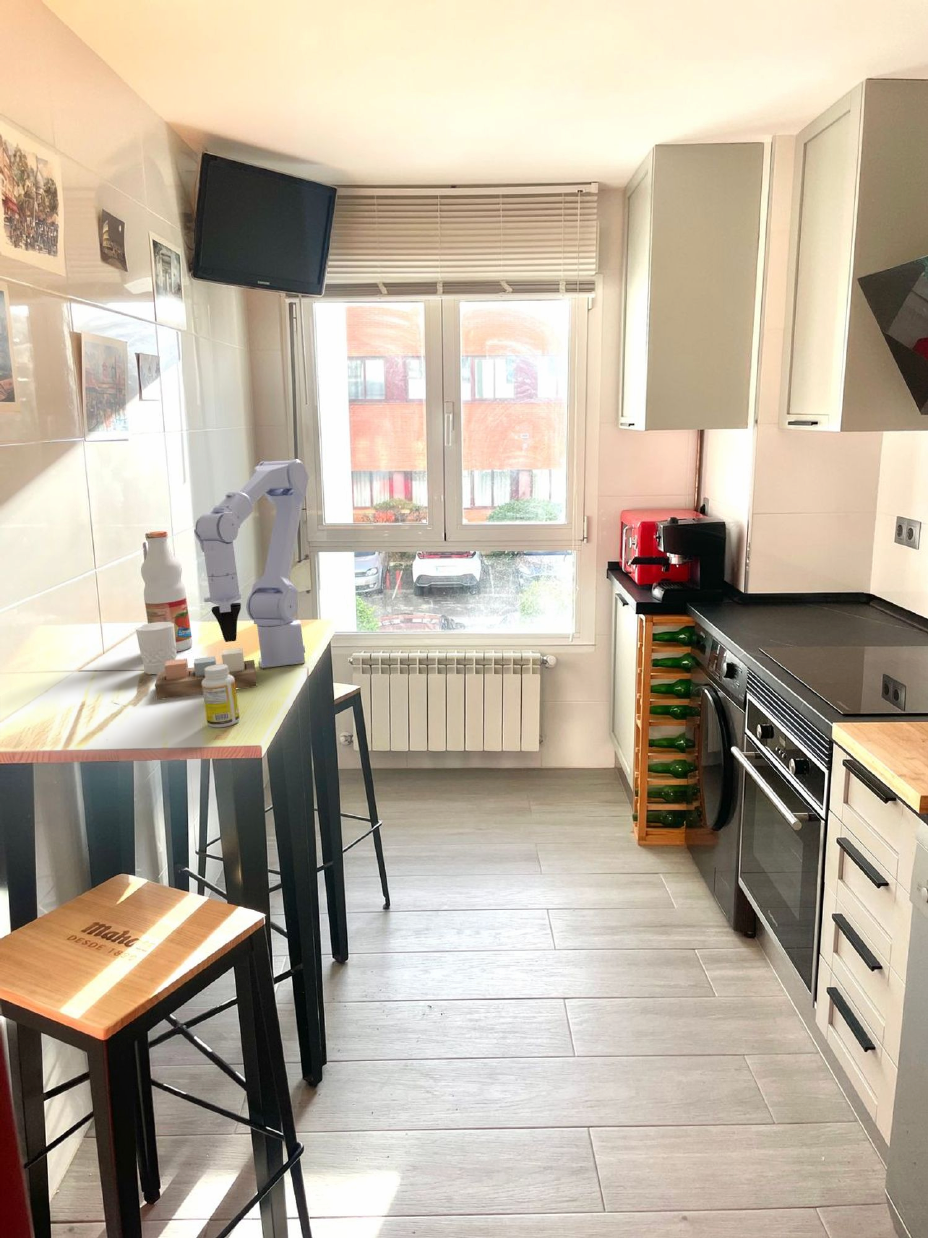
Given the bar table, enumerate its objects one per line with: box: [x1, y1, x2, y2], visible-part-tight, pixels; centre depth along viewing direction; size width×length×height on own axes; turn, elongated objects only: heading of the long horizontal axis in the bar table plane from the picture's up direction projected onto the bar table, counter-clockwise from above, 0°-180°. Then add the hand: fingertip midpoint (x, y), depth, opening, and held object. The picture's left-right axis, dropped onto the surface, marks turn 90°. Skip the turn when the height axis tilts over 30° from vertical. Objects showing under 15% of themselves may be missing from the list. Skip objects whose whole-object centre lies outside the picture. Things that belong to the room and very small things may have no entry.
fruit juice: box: [140, 530, 193, 653], centre depth 215 cm, size 9×9×28 cm
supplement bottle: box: [202, 663, 240, 728], centre depth 159 cm, size 6×6×10 cm
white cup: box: [135, 622, 178, 675], centre depth 198 cm, size 8×8×10 cm
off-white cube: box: [221, 647, 245, 672], centre depth 184 cm, size 4×4×4 cm
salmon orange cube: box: [165, 658, 189, 680], centre depth 182 cm, size 4×4×4 cm
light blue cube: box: [193, 655, 217, 676], centre depth 183 cm, size 4×4×4 cm
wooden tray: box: [154, 659, 257, 700], centre depth 184 cm, size 19×10×3 cm, turn 103°
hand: (230, 640), depth 183 cm, fingers closed
